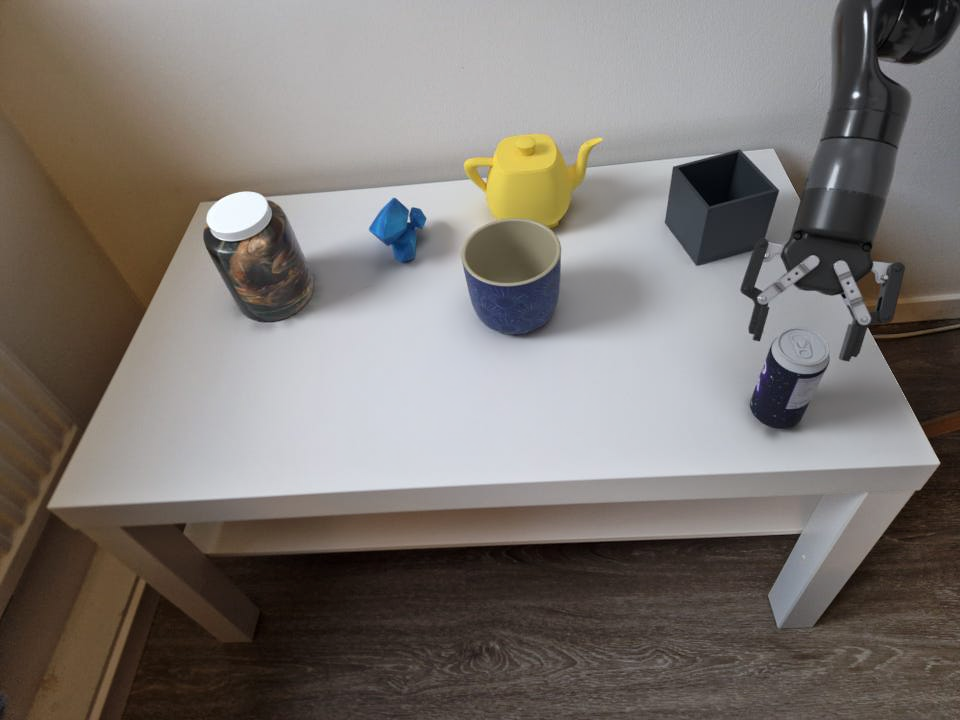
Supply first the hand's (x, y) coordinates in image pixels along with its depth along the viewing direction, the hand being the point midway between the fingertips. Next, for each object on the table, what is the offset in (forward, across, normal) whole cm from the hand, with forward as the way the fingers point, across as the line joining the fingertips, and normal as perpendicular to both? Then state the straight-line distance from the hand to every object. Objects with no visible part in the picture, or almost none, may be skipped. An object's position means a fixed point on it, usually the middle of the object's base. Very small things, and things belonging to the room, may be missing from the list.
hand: (799, 350), depth 69 cm
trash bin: (-12, -12, +27) cm, 32 cm away
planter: (+4, -34, +11) cm, 36 cm away
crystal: (-1, -55, +16) cm, 57 cm away
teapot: (-11, -39, +26) cm, 48 cm away
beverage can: (+8, 0, +7) cm, 11 cm away
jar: (+9, -69, +6) cm, 70 cm away
